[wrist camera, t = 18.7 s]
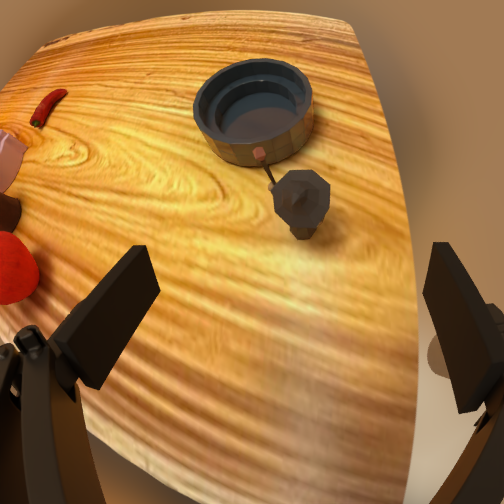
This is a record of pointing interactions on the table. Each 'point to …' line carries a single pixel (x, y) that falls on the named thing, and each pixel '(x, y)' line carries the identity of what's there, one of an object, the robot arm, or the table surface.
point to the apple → (16, 270)
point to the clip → (9, 158)
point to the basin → (255, 111)
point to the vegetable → (46, 107)
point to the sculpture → (9, 212)
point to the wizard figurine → (298, 198)
